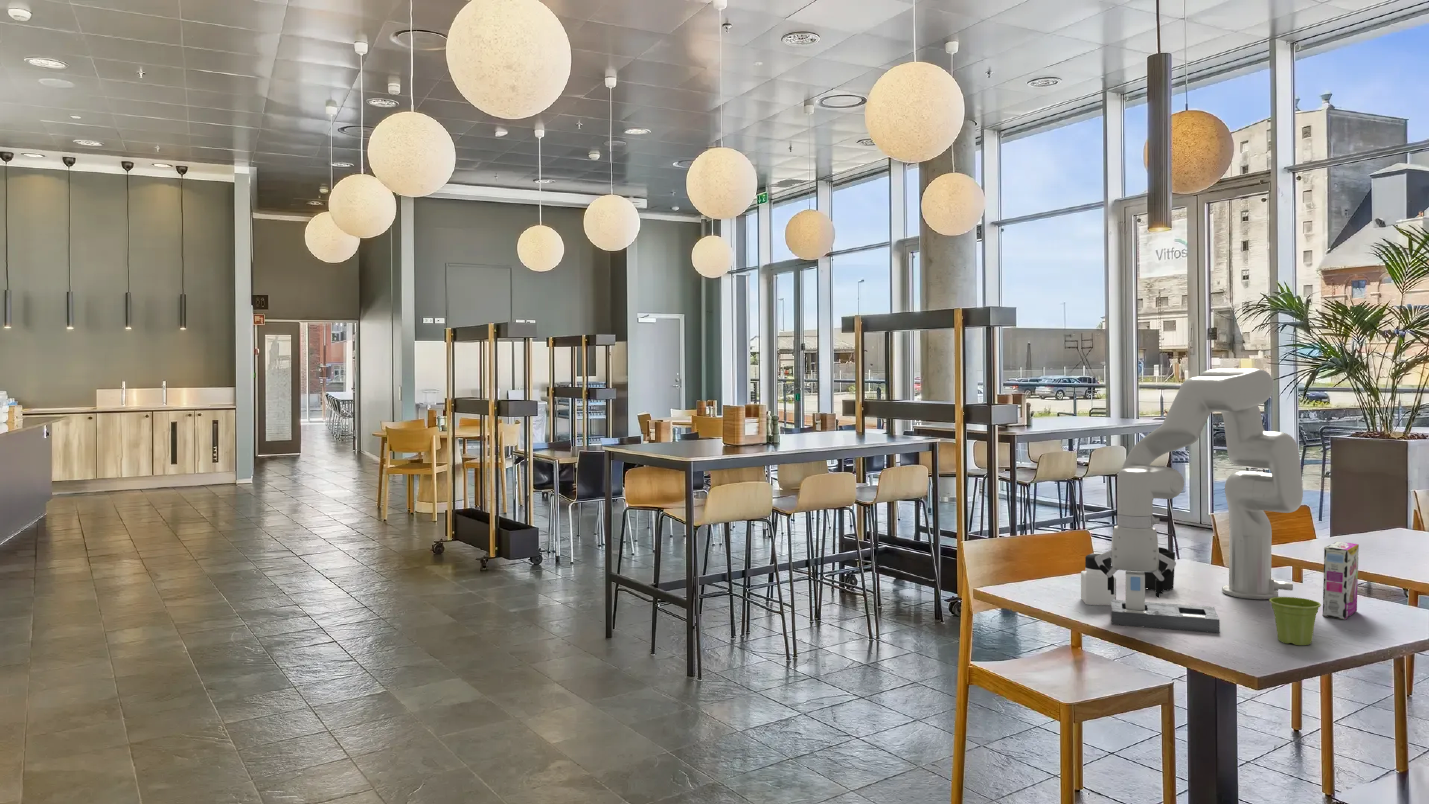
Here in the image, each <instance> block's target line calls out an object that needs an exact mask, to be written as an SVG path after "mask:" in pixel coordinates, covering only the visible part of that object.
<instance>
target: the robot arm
mask: <svg viewBox="0 0 1429 804" xmlns="http://www.w3.org/2000/svg"><path fill="white" fill-rule="evenodd" d="M1273 391H1274V380H1273V377H1272V376H1271V375H1270V373H1269V372H1267V371H1266V370H1264V369H1261V368H1213V369H1212V368H1211V369H1208V370H1204V371H1202V372H1201V373H1200V374H1199V376H1193V377H1190V378H1187V379H1186V380H1184V381H1183V383H1182V384H1181V385H1180V387H1179V389H1178V392H1177V393H1176V395H1175V398H1174V399H1173V402H1172V403H1171V405H1170V408H1169V410H1168V412H1167V413H1166V415H1165V418H1164V420H1163V422H1162V424H1161V425H1160V426H1159V427H1157V428H1155V429H1154V430H1152V431H1151V432H1149V433H1148V434H1147V435H1145V436H1144V437H1143V438H1141V439H1140V440H1139V441H1138V442H1136V444H1134V445H1133V447H1132V448H1131V449H1130V451H1129V453H1128V454H1127V456H1126V459H1125V460H1124V463H1123V464H1122V467H1121V469H1120V470H1119V471H1118V472H1117V478H1116V479H1117V484H1116V486H1117V490H1116V491H1117V494H1116V495H1117V497H1116V499H1117V501H1116V503H1117V504H1116V505H1117V510H1116V512H1117V513H1116V514H1117V515H1116V516H1117V521H1116V522H1117V525H1114V526H1113V529H1112V530H1113V531H1112V536H1111V548H1110V550H1108V551H1105V552H1103V553H1099V554H1100V555H1098V556H1096V557H1095V561H1096V563H1097V565H1098V566H1099V568H1100V570H1101V571H1102V572H1103V573H1104V574H1105V575H1106V576H1107V577H1108V590H1111V595H1113V594H1114V577H1115V576H1113V575H1115V574H1116V572H1117V571H1125V572H1126V571H1139V572H1153V574H1154V575H1155V576H1156V577H1157V578H1156V579H1155V590H1154V591H1155V598H1156V599H1160V595H1163V593H1164V591H1163V580H1164V579H1165V578H1166V577H1167V576H1168V575H1170V574H1171V572H1172V570H1173V569H1174V570H1175V567H1176V565H1177V561H1174V560H1172V559H1170V558H1168V557H1166V556H1164V555H1162V554H1160V553H1159V549H1158V547H1159V539H1158V538H1159V537H1158V532H1157V528H1156V527H1153V526H1155V525H1156V524H1157V525H1160V517H1155V516H1153V513H1154V511H1153V506H1154V505H1153V503H1154V501H1153V500H1154V499H1161V500H1171V499H1174V498H1176V497H1178V496H1179V495H1180V494H1181V493H1182V491H1183V490H1184V487H1185V480H1184V477H1183V475H1182V474H1181V472H1180V471H1178V470H1177V469H1175V468H1172V467H1167V466H1160V465H1159V466H1158V465H1151V464H1152V463H1153V462H1154V461H1155V460H1156V459H1158V458H1159V457H1161V456H1164V455H1165V454H1168V453H1170V452H1173V451H1177V450H1181V449H1183V448H1186V447H1189V446H1190V445H1193V444H1194V443H1196V442H1198V440H1199V438H1200V436H1201V434H1202V431H1203V429H1204V427H1205V425H1206V422H1207V420H1208V418H1209V417H1210V415H1211V414H1212V413H1214V412H1216V413H1217V412H1219V413H1221V415H1222V419H1223V424H1224V425H1223V426H1224V433H1225V443H1226V451H1227V456H1228V459H1229V462H1230V463H1232V464H1233V465H1235V466H1236V467H1241V468H1248V469H1249V468H1250V469H1258V470H1260V469H1261V470H1269V471H1270V472H1271V473H1270V472H1263V471H1251V470H1242V471H1240V470H1239V471H1236V472H1234V473H1232V474H1230V475H1229V476H1228V477H1227V478H1226V480H1225V484H1224V494H1225V499H1226V503H1227V509H1228V524H1229V525H1228V526H1229V527H1228V529H1229V530H1228V532H1229V533H1228V534H1229V535H1228V536H1229V537H1228V540H1229V542H1228V584H1226V585H1223V586H1222V588H1221V591H1222V593H1224V594H1225V595H1228V596H1232V597H1235V598H1239V599H1247V600H1249V599H1250V600H1269V599H1270V598H1273V597H1279V590H1282V591H1283V590H1284V591H1293V590H1294V585H1293V582H1286V581H1282V580H1281V581H1278V580H1275V579H1274V578H1273V577H1272V541H1273V540H1272V539H1273V538H1272V535H1273V533H1272V532H1273V530H1272V525H1271V521H1270V519H1269V518H1268V516H1267V514H1266V512H1265V511H1267V512H1273V513H1274V512H1275V513H1281V514H1283V513H1284V514H1285V513H1286V514H1288V513H1293V512H1296V511H1298V509H1299V508H1300V507H1301V505H1302V502H1303V499H1304V498H1303V497H1304V496H1303V495H1304V489H1303V488H1304V487H1303V480H1302V468H1301V460H1300V450H1299V446H1298V444H1297V442H1296V440H1295V438H1293V436H1292V435H1290V434H1288V433H1286V432H1282V431H1267V430H1265V428H1264V426H1263V418H1262V414H1261V410H1260V406H1259V405H1262V404H1264V403H1265V402H1267V400H1269V399H1270V397H1271V396H1272V394H1273ZM1109 557H1111V567H1110V568H1109V569H1108V568H1107V567H1106V566H1105V565H1104V564H1103V562H1102V561H1103V560H1104V559H1107V558H1109ZM1159 560H1161V561H1163V562H1165V563H1167V564H1168V566H1167V568H1166V569H1165V570H1164V571H1162V572H1160V571H1159V569H1158V568H1159Z"/></svg>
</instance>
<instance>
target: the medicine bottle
mask: <svg viewBox="0 0 1429 804" xmlns="http://www.w3.org/2000/svg"><path fill="white" fill-rule="evenodd" d="M1100 554H1101V553H1088V554H1087V555H1086V556H1085V557H1084V558H1085V562H1084V564H1085V567H1084V568H1085V569H1084V570H1082V571H1080V599H1081V600H1082V601H1083V602H1084V604H1085V605H1086V606H1109V607H1111V599H1113V600H1117V577H1115V576H1114V575H1115V574H1113V576H1114V594H1113V595H1111V590H1108V577H1107V576H1106V575H1105V574H1104V573H1103V572H1102V571H1101V570H1100V568H1099V566H1098V565H1097V563H1096V561H1095V557H1096V556H1098V555H1100ZM1102 562H1103V564H1104V565H1105V566H1106V567H1107V568H1108V569H1109V568H1110V567H1111V566H1112V563H1111V557H1109V558H1107V559H1104V560H1103V561H1102Z"/></svg>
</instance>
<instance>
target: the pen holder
mask: <svg viewBox="0 0 1429 804" xmlns="http://www.w3.org/2000/svg"><path fill="white" fill-rule="evenodd" d="M1158 549H1159V553H1160V554H1162V555H1164V556H1166V557H1168V558H1170V559H1172V560H1174V561H1175V560H1176V552H1174V551H1173V552H1172V551H1171V550H1170V549H1168V548H1165V547H1161V546H1160V547H1159V546H1158ZM1175 562H1176V561H1175ZM1167 566H1168V564H1167V563H1165V562H1163V561H1161V560H1159V568H1158V569H1159V571H1160V572H1162V571H1164V570H1165V569H1166V568H1167ZM1138 572H1139V571H1138ZM1144 573H1145V588H1148V589H1154V590H1153V591H1155V579H1156V578H1157V577H1156V576H1155V575H1154V574H1153V572H1144ZM1174 584H1175V568H1174V569H1173V570H1172V572H1171V574H1170V575H1168V576H1167V577H1166V578H1165V579H1164V580H1163V590H1166V591H1171V590H1173V588H1174ZM1148 589H1147V590H1148ZM1170 589H1171V590H1170Z"/></svg>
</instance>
